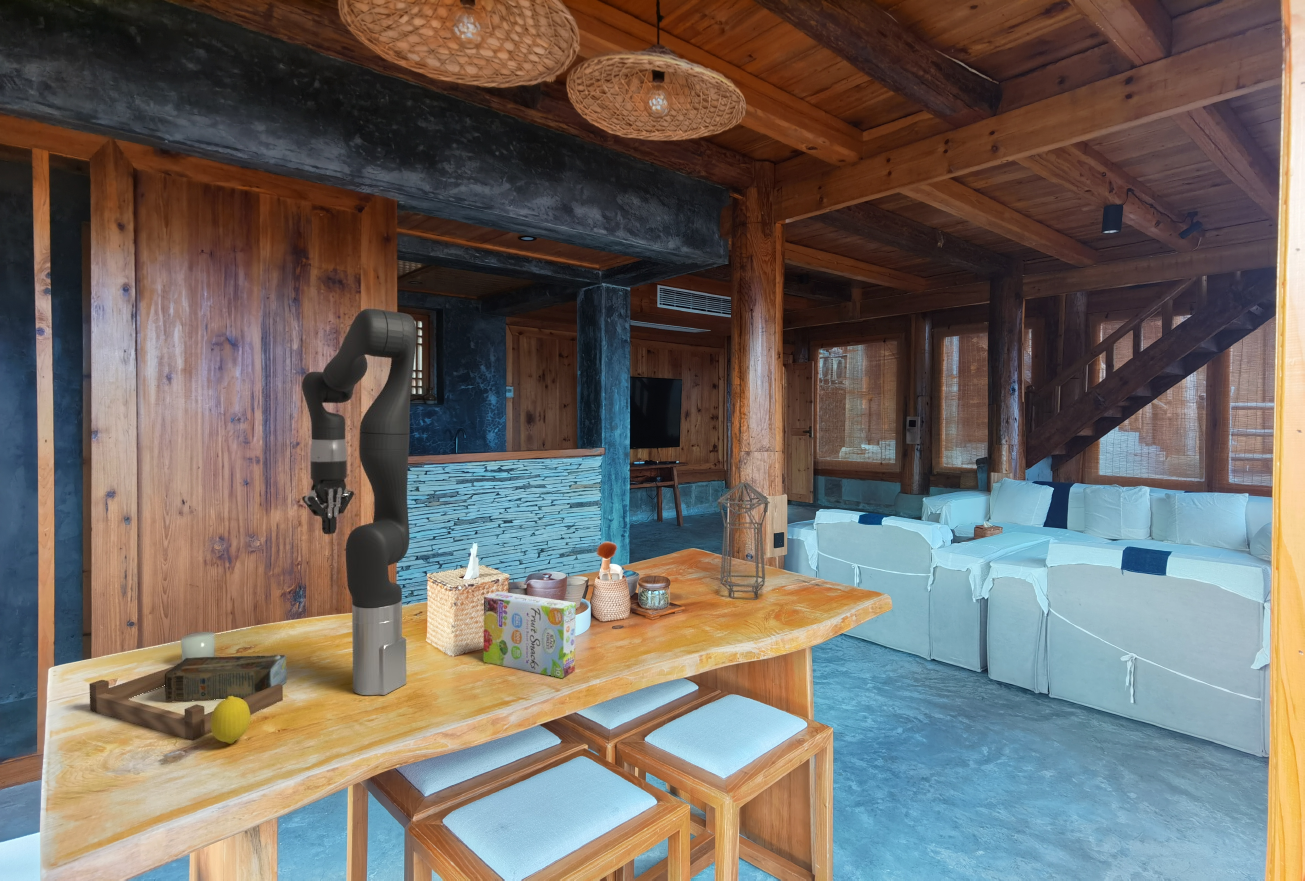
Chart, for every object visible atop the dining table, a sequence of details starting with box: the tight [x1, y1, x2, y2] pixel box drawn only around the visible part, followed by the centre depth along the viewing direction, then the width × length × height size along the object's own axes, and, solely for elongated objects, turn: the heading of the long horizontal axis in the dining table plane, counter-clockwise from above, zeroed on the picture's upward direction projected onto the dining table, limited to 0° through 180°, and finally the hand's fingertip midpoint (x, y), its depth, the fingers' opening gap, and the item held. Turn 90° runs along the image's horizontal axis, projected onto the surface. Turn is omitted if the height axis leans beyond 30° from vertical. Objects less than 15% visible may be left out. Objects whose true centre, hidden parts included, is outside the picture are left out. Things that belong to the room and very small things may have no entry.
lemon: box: [211, 696, 251, 745], centre depth 109 cm, size 6×6×8 cm
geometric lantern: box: [717, 481, 771, 601], centre depth 201 cm, size 16×16×35 cm
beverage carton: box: [164, 654, 288, 703], centre depth 129 cm, size 8×19×7 cm, turn 99°
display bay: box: [88, 665, 284, 741], centre depth 123 cm, size 28×17×5 cm, turn 68°
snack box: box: [482, 591, 577, 679], centre depth 143 cm, size 21×6×15 cm, turn 65°
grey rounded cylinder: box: [180, 631, 216, 662], centre depth 143 cm, size 6×6×6 cm
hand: (329, 533), depth 152 cm, fingers closed
